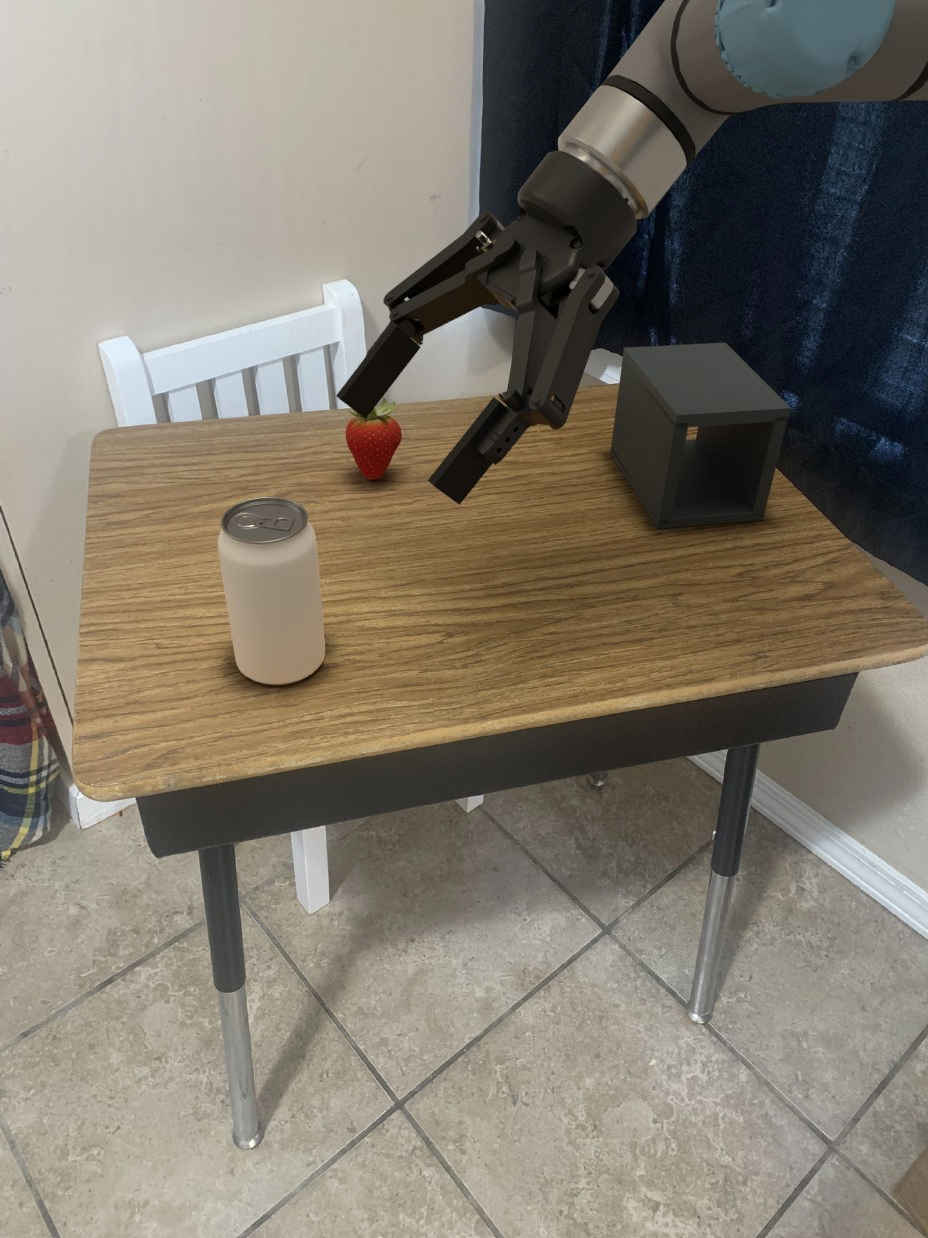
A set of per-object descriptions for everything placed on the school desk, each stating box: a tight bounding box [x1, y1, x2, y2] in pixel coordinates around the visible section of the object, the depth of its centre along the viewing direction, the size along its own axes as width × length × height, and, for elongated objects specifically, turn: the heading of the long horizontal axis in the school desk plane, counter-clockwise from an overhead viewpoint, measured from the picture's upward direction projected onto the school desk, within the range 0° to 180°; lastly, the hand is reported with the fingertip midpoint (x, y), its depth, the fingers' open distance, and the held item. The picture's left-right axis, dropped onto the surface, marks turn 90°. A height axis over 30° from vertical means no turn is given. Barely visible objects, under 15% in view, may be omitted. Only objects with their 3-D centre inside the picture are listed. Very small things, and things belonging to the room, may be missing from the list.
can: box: [217, 496, 326, 687], centre depth 67 cm, size 6×6×12 cm
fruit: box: [345, 396, 403, 481], centre depth 90 cm, size 5×5×8 cm
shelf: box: [610, 342, 792, 530], centre depth 89 cm, size 14×10×11 cm
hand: (393, 447), depth 66 cm, fingers open, 13 cm apart
